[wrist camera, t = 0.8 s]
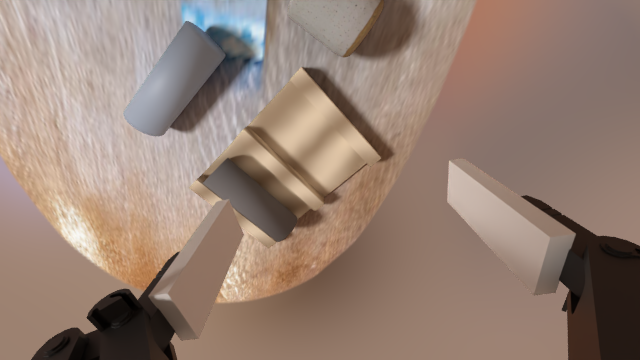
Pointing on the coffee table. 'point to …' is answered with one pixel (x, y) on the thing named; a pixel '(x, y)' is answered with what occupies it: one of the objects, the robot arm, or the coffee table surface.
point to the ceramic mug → (336, 21)
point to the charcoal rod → (251, 200)
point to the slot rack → (295, 151)
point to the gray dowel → (174, 80)
